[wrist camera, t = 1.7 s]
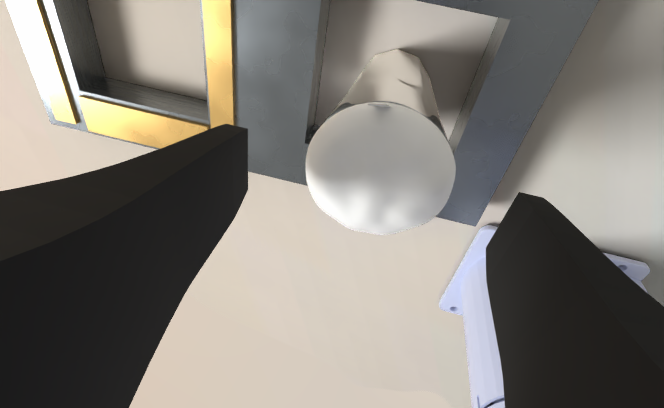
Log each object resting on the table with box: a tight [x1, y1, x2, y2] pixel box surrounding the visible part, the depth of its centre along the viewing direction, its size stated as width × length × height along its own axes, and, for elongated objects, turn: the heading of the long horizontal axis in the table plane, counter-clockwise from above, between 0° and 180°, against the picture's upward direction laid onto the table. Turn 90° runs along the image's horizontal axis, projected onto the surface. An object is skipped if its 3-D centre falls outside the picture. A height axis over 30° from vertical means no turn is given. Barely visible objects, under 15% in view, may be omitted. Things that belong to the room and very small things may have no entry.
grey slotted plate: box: [5, 0, 599, 226], centre depth 17 cm, size 24×12×2 cm, turn 81°
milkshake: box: [306, 49, 456, 235], centre depth 13 cm, size 4×5×10 cm
